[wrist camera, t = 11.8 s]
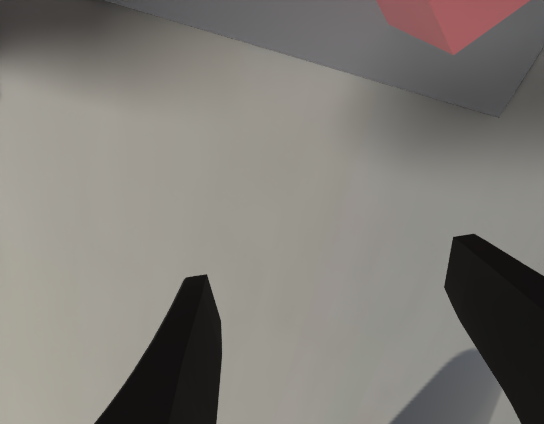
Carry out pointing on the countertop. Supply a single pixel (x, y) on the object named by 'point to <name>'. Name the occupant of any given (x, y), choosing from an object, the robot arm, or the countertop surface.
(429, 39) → the box
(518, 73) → the mat
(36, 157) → the countertop surface
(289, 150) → the countertop surface
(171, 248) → the countertop surface
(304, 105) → the countertop surface
